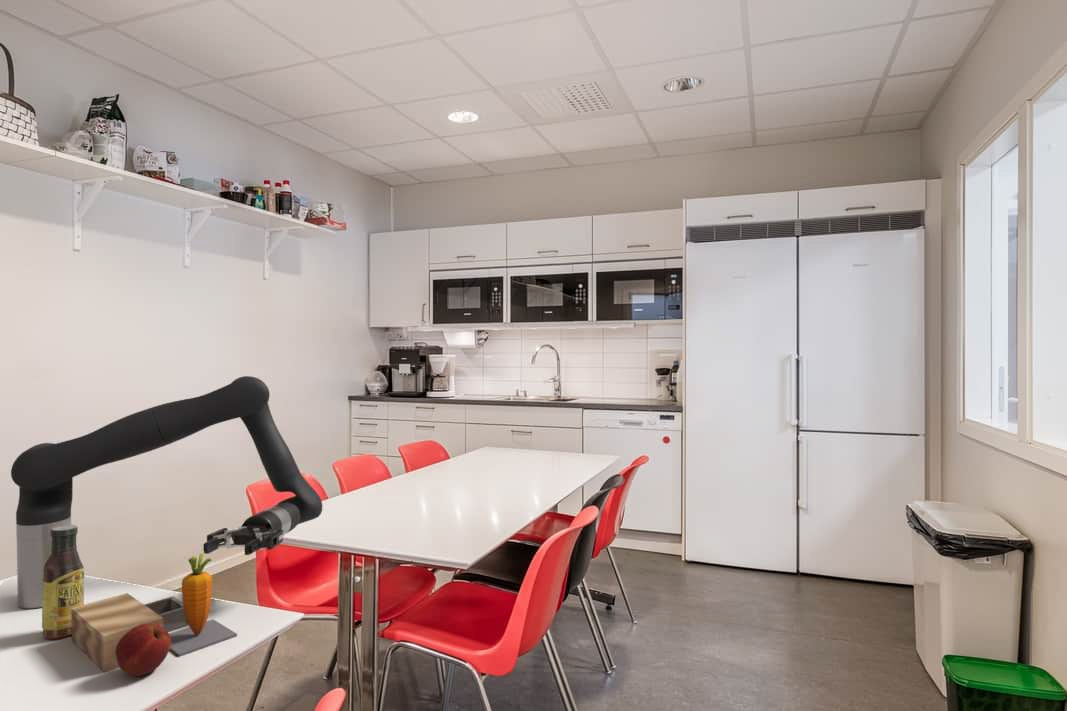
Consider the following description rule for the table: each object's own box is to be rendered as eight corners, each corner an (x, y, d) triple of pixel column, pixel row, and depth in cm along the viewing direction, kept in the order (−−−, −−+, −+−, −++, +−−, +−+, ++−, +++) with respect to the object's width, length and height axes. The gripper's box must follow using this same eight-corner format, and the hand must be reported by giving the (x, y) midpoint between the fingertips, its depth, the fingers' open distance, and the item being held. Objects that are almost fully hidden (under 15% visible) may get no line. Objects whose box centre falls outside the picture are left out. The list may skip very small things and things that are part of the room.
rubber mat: (157, 639, 115) (156, 637, 115) (213, 621, 122) (213, 619, 122) (179, 656, 108) (179, 654, 108) (237, 635, 116) (237, 633, 116)
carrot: (199, 627, 119) (198, 548, 119) (218, 631, 117) (218, 551, 117) (175, 638, 114) (175, 556, 114) (195, 643, 112) (194, 559, 112)
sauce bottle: (61, 642, 114) (59, 533, 114) (33, 639, 115) (31, 532, 115) (93, 626, 121) (91, 523, 120) (66, 624, 122) (64, 522, 122)
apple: (148, 685, 99) (147, 635, 99) (103, 683, 100) (102, 633, 100) (179, 662, 106) (178, 615, 106) (136, 660, 107) (136, 614, 107)
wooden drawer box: (71, 640, 115) (71, 608, 115) (169, 611, 127) (169, 581, 127) (104, 672, 103) (103, 636, 103) (208, 636, 116) (207, 604, 116)
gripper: (236, 509, 142) (192, 529, 126) (297, 511, 141) (260, 531, 125) (236, 542, 142) (192, 567, 126) (297, 544, 141) (260, 569, 125)
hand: (225, 549), depth 125 cm, fingers open, 8 cm apart
